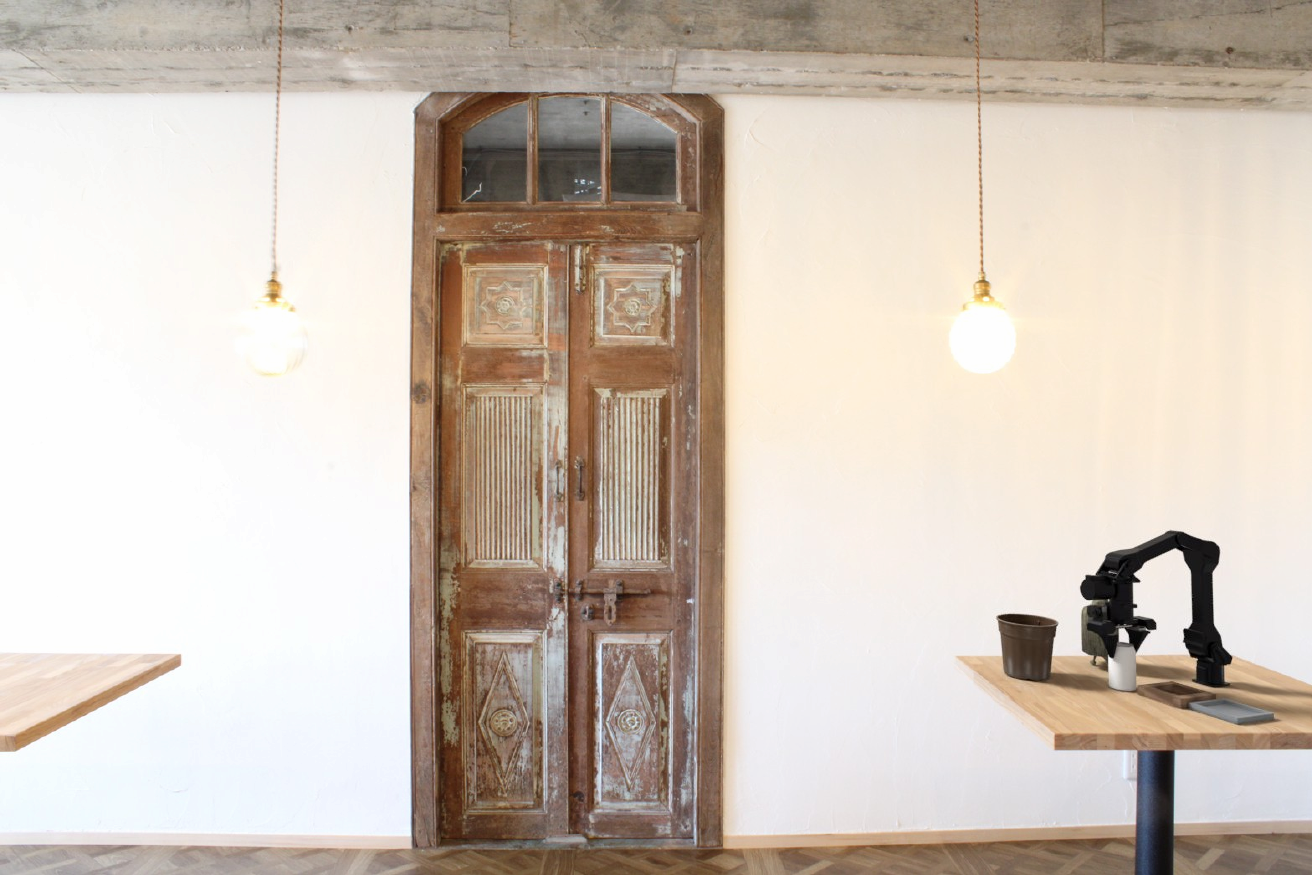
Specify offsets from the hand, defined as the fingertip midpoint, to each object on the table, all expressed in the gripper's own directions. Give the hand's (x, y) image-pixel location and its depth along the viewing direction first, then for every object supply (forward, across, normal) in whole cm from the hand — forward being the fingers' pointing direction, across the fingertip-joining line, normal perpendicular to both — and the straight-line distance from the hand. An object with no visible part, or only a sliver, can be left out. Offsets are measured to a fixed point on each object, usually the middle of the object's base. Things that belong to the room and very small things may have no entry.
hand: (1122, 656), depth 210 cm
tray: (+8, -7, +24) cm, 26 cm away
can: (+9, 0, 0) cm, 9 cm away
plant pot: (+9, +15, -18) cm, 25 cm away
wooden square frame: (+8, -5, +12) cm, 15 cm away
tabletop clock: (+9, -13, -19) cm, 25 cm away
